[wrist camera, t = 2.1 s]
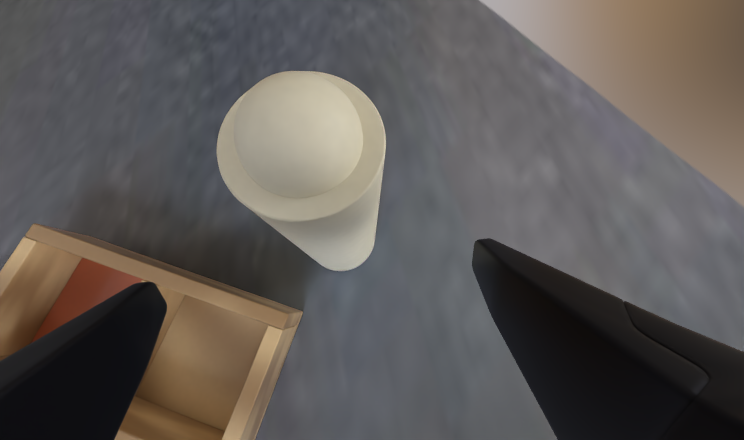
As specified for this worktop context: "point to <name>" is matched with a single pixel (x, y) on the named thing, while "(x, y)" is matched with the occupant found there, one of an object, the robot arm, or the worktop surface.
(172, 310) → the grid
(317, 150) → the dome-topped white cylinder
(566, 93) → the worktop surface
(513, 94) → the worktop surface
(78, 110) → the worktop surface
